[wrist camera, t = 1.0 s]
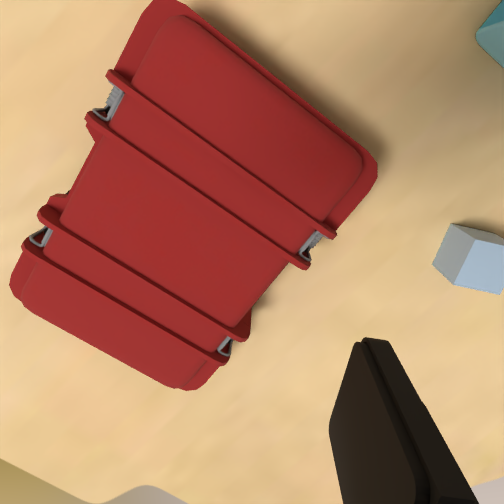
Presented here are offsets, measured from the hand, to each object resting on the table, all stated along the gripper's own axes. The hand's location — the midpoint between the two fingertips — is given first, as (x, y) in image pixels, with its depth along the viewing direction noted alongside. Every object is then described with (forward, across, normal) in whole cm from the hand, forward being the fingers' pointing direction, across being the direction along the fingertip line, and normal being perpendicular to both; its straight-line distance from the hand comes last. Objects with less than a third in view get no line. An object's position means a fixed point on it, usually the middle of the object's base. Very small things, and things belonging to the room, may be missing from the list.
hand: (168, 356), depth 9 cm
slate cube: (+31, -26, +5) cm, 40 cm away
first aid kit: (+31, +4, +6) cm, 32 cm away
